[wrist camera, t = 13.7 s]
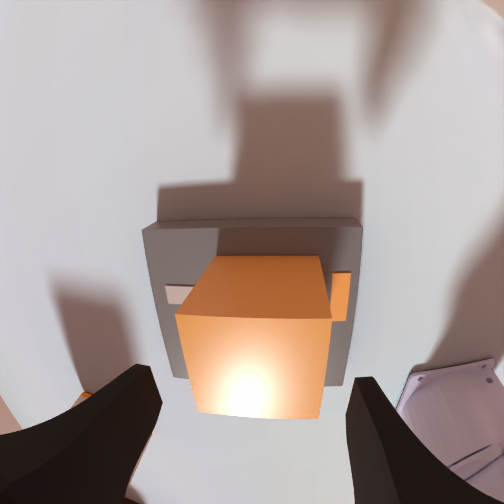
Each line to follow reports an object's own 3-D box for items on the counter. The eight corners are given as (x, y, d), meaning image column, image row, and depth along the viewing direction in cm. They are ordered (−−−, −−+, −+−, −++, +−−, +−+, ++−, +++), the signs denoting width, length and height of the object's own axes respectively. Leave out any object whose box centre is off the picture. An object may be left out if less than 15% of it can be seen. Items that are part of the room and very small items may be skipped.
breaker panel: (355, 218, 16) (365, 230, 13) (339, 367, 19) (343, 391, 17) (156, 221, 18) (136, 233, 15) (182, 360, 21) (170, 382, 19)
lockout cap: (318, 255, 15) (332, 318, 9) (313, 340, 16) (318, 418, 11) (215, 255, 16) (174, 313, 10) (224, 338, 17) (198, 411, 12)
